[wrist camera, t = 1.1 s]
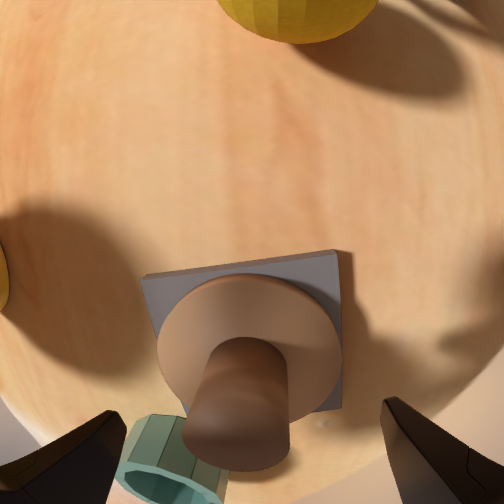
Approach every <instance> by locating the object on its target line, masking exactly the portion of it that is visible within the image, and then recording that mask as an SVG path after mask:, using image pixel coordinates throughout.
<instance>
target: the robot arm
mask: <svg viewBox="0 0 504 504" xmlns="http://www.w3.org/2000/svg"><path fill="white" fill-rule="evenodd" d="M380 420H381V426H382V430H383V435H384V440H385V445H386V450H387V455H388V459H389V462H390V466H391V468H392V472H393V475H394V477H395V481H396V484H397V487H398V490H399V493H400V496H401V499H402V503H403V504H504V466H502V465H500V464H498V463H496V462H494V461H492V460H490V459H488V458H486V457H485V456H483V455H481V454H480V453H478V452H477V451H475V450H474V449H472V448H469V446H467V445H466V444H464V443H463V442H461V441H459V440H458V439H457V438H455V437H454V436H452V435H451V434H449V433H448V432H447V431H445V430H444V429H442V428H441V427H439V426H438V425H436V424H435V423H433V422H432V421H431V420H429V419H428V418H426V417H425V416H423V415H422V414H421V413H419V412H418V411H416V410H415V409H413V408H412V407H411V406H409V405H408V404H406V403H405V402H404V401H402V400H401V399H399V398H398V397H396V396H394V397H390V398H386V399H384V400H383V403H382V409H381V415H380ZM126 433H127V427H126V425H125V423H124V422H123V420H122V418H121V416H120V415H119V413H118V412H116V411H112V410H106V411H105V412H103V413H101V414H100V415H98V416H96V417H95V418H93V419H91V420H90V421H88V422H86V423H84V424H83V425H81V426H79V427H78V428H76V429H74V430H72V431H71V432H69V433H67V434H65V435H64V436H62V437H60V438H58V439H57V440H55V441H53V442H51V443H49V444H47V445H46V446H44V447H42V448H40V449H39V450H37V451H34V452H33V453H31V454H29V455H27V456H24V457H22V458H20V459H18V460H15V461H13V462H10V463H8V464H5V465H2V466H0V504H106V501H107V498H108V495H109V492H110V489H111V486H112V483H113V480H114V477H115V474H116V471H117V468H118V465H119V462H120V458H121V454H122V450H123V445H124V441H125V437H126Z"/></svg>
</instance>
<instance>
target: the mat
mask: <svg viewBox="0 0 504 504" xmlns="http://www.w3.org/2000/svg"><path fill="white" fill-rule="evenodd" d="M237 273H256V274H263V275H269V276H273V277H277V278H280V279H283V280H286V281H288V282H290V283H292V284H295V285H297V286H298V287H300V288H301V289H303V290H305V291H306V292H308V293H309V294H310V295H311V296H312V297H314V298H315V299H316V300H317V301H318V302H319V303H320V305H321V306H322V307H323V308H324V309H325V311H326V312H327V314H328V315H329V317H330V319H331V321H332V323H333V325H334V328H335V331H336V333H337V336H338V339H339V343H340V346H341V353H342V323H341V301H340V284H339V270H338V258H337V253H336V252H335V251H334V250H333V249H331V250H324V251H317V252H310V253H303V254H296V255H289V256H282V257H275V258H267V259H260V260H253V261H246V262H238V263H231V264H224V265H216V266H209V267H201V268H194V269H186V270H179V271H171V272H164V273H156V274H148V275H146V276H145V277H143V278H142V279H141V280H140V284H141V288H142V291H143V295H144V298H145V302H146V305H147V308H148V312H149V315H150V318H151V321H152V325H153V328H154V331H155V334H156V337H157V340H158V337H159V333H160V330H161V327H162V325H163V323H164V321H165V320H166V318H167V316H168V315H169V314H170V312H171V311H172V310H173V309H174V307H175V306H176V305H177V303H178V302H179V301H180V300H181V298H183V297H184V296H185V295H186V294H187V293H188V292H189V291H190V290H192V289H193V288H195V287H196V286H198V285H200V284H202V283H204V282H206V281H208V280H210V279H213V278H216V277H219V276H224V275H229V274H237ZM180 401H181V400H180ZM181 403H182V405H183V408H184V410H185V412H186V415H187V416H188V413H189V410H190V408H189V407H188V406H186V405H185V404H184V403H183V402H182V401H181ZM339 408H342V364H341V371H340V375H339V378H338V381H337V383H336V385H335V387H334V389H333V390H332V392H331V394H330V395H329V396H328V397H327V399H326V400H325V401H324V402H323V403H322V404H321V405H320V406H319V407H318V408H317V409H315V410H314V411H312V412H311V413H313V412H320V411H327V410H333V409H339Z"/></svg>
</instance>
